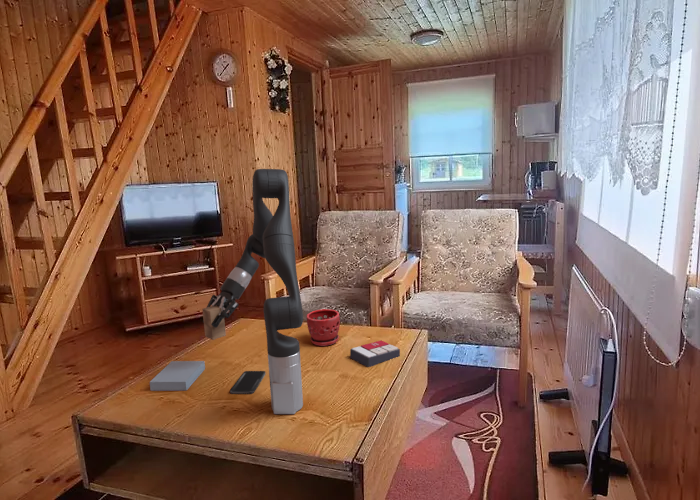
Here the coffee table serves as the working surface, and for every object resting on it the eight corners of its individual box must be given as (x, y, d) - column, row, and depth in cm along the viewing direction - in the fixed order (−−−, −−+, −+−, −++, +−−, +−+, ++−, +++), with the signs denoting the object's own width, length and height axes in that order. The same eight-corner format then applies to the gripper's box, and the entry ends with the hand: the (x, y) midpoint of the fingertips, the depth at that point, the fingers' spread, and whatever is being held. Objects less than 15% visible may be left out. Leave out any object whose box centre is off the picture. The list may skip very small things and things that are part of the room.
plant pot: (310, 336, 190) (308, 309, 188) (341, 336, 189) (340, 308, 187) (305, 348, 177) (304, 319, 175) (339, 348, 176) (338, 318, 174)
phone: (228, 391, 143) (244, 370, 158) (229, 395, 143) (244, 373, 158) (253, 392, 142) (266, 370, 157) (253, 395, 142) (266, 373, 157)
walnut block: (225, 335, 157) (223, 307, 155) (212, 339, 153) (210, 311, 151) (218, 332, 160) (215, 305, 158) (205, 336, 156) (202, 308, 155)
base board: (186, 390, 146) (185, 381, 146) (150, 390, 147) (149, 382, 147) (205, 368, 162) (204, 360, 162) (172, 369, 163) (171, 361, 162)
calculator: (400, 347, 166) (368, 356, 158) (400, 358, 167) (368, 368, 158) (381, 339, 175) (349, 347, 166) (381, 349, 176) (349, 358, 167)
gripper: (218, 274, 163) (190, 315, 157) (241, 280, 154) (212, 323, 147) (232, 285, 168) (205, 325, 162) (255, 291, 158) (228, 334, 152)
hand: (209, 324), depth 154 cm, fingers closed on walnut block, 5 cm apart
